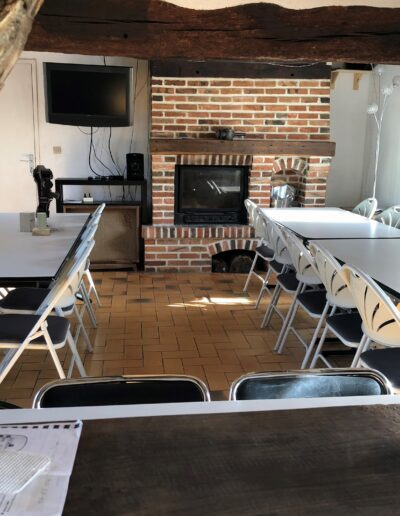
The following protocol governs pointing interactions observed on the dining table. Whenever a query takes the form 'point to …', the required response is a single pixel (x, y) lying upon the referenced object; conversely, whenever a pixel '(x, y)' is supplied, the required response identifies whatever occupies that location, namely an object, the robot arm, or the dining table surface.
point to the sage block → (41, 221)
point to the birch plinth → (40, 232)
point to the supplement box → (27, 221)
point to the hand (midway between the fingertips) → (46, 211)
